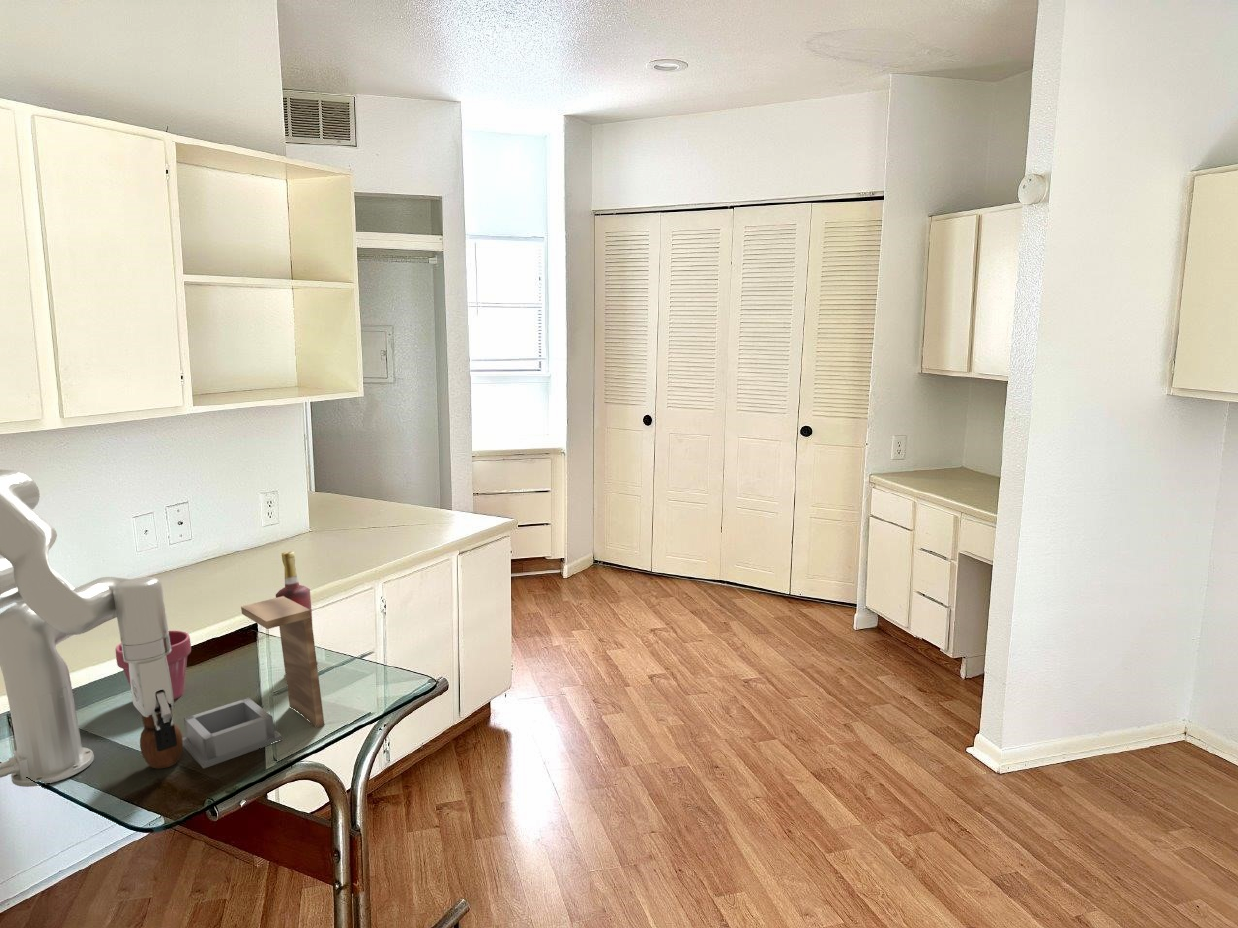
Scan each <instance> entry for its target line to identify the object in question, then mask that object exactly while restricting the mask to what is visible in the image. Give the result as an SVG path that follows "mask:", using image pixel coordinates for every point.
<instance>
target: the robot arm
mask: <svg viewBox="0 0 1238 928" xmlns="http://www.w3.org/2000/svg"><path fill="white" fill-rule="evenodd" d="M40 497H41V496H40V489H39V486H38V485H37V483H36V482H35V480H33V478H31V477H30V476H28V475H27V474H25V473H23V472H21V471H18V470H14V469H13V470H12V469H0V610H1V609H3V608H5V607H7V606H10V605H11V607H8V608H7V609H5V610H3V611H2V612H1V613H0V671H1V674H2V677H3V681H4V687H5V692H6V697H7V700H8V705H9V706H8V707H9V711H10V716H11V717H10V718H11V722H12V723H11V724H12V728H13V735H14V739H15V745H16V750H15V751H14V752H13V753H14V756H12V757H8V760H6V761H3V762H0V779H1V778H5V777H7V776H10V779H11V782H12V784H13V785H15V786H18V787H24V788H25V787H27V788H29V787H37V786H41V785H37V784H36V783H34V782H33V781H35V782H38V781H41V782H44V783H50V784H53V783H57V782H59V781H62V780H65V779H68V778H70V777H73V776H74V775H77V774H78V773H80V772H82V771H83V770H85V769H87V768H88V767H89V766H90V765H91V764H92V763H93V761H94V760H95V756H94V752H93V750H91V749H90V748H88V747H83V745H82V741H81V740H82V738H81V734H80V733H81V732H80V726H79V723H78V722H79V721H78V717H77V711H76V704H75V699H74V694H73V693H74V692H73V686H72V680H71V676H70V670H69V668H68V665H67V663H66V661H65V660H64V658H63V657H62V656H61V655H60V653H59V652H58V649H57V645H59V644H60V643H61V642H63V641H66V640H68V639H69V638H71V637H73V636H76V635H82V634H85V633H87V632H90V631H91V630H94V629H95V628H98V627H99V626H101V625H102V624H105V623H106V622H109V621H111V620H113V619H117V626H118V631H119V632H118V633H119V639H120V643H121V646H122V652H123V659H124V662H126V663H129V674H130V684H131V687H130V690H131V699H132V704H133V707H135V708H136V710H137V711H138V712H139V713H140V714H141V715H143V716H144V717H149V715H152V717H153V721H154V725H155V730H154V736H155V742H156V749H157V751H163V750H166V749H169V748H172V747H174V746H176V745H177V740H176V734H175V727H174V725H175V723H174V719H173V714H172V715H171V711H170V710H172V711H173V709H174V707H175V699H174V698H173V691H172V684H171V679H170V673H169V666H168V663H167V658H166V655H168V654H169V653H171V651H172V650H171V644H170V637H169V631H170V629H169V625H168V618H167V617H168V616H167V611H166V605H165V604H166V603H165V598H164V591H163V585H162V583H161V580H159V579H158V578H156V577H152V576H145V577H144V576H142V577H135V578H124V577H116V576H104V577H98V578H96V579H93V580H92V581H89V582H87V583H85V584H83V585H80V586H77V587H75V586H74V585H73V584H72V583H70V582H69V581H68V580H66V579H65V578H64V577H63V576H62V575H61V574H60V573H59V572H58V571H56V570H55V569H54V568H52V566H51V565H50V561H49V551H50V549H52V547H53V546H54V544H55V543H56V541H57V536H58V534H57V531H56V529H55V528H54V527H53V526H52V525H50V524H49V523H48V522H47V521H46V520H45V519H44V518H42V517H41V516H40V515H39V514H38V513H36V511H34V509H35V508H36V507H37V506H38V504H39V502H40ZM15 603H16V604H15ZM12 604H14V605H12ZM130 684H129V685H130ZM158 708H160V711H157V712H155V709H158ZM158 715H161V718H159V722H158V718H157V716H158ZM145 727H146V726H145V725H144V724H143V729H144V728H145ZM26 777H28V778H30V779H31V780H33V781H31V780H30V779H28V778H26Z"/></svg>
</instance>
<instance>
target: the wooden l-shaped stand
mask: <svg viewBox="0 0 1238 928" xmlns="http://www.w3.org/2000/svg"><path fill="white" fill-rule="evenodd" d="M240 609H241V610H240V611H241V614H242V615H243V616H244V617H246V618H248V619H249V620H251V621H253V622H254V623H255V624H258V625H260V626H261V627H263V628H265V629H266V630H269V629H273V628H277V627H279V634H280V642H281V643H280V644H281V650H282V658H283V664H284V674H285V680H286V681H285V682H286V689H287V690H286V691H287V696H288V705H289V708H290V707H291V708H293V709H295V710H296V711H298V712H299V713H300V714H302V715H303V716H304V717H305V718H306V719H308V720H309V721H310V722H311V723H312V725H313V726H314V727H315V726H316V727H315V728H317V729H318V728H320V727H323V726H325V720H324V719H325V718H324V712H323V711H324V710H323V702H322V695H321V692H322V691H321V686H320V685H321V684H320V679H319V678H320V677H319V670H318V665H317V662H318V661H317V654H316V645H315V635H314V630H313V628H314V627H313V618H312V619H311V611H310V609H308V608H306V607H304V606H302V605H300V604H298V603H296V602H294V601H292V600H290V599H288V598H286V597H284V596H282V597H278V598H276V597H274V598H269V599H265V600H262V601H257V602H254V603H251V604H250V603H249V604H247V605H242V606H240ZM291 708H290V709H291ZM293 709H292V710H293ZM305 718H304V719H305ZM306 719H305V720H306ZM309 721H308V722H309ZM310 722H309V723H310ZM311 723H310V724H311Z"/></svg>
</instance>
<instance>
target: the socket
mask: <svg viewBox="0 0 1238 928" xmlns="http://www.w3.org/2000/svg"><path fill="white" fill-rule="evenodd" d="M183 720H184V728H185V735H186V737H182V738H183V746H182V748H184V749H185V750H186V751H187V752H188V753H189V755H191V757H193V759H194V760H195V761H196V763H198V764H199V766H201V768H202V769H208V768H209V767H212V766H215V765H218V764H221V763H223V762H226V761H230V760H231V759H234V758H237V757H240V756H242V755H246V754H248V753H251V752H255V751H257V750H259V748H260V749H263V748H265V747H267V746H266V745H268V746H270V745H269V744H271V743H273V742H275V741H279V740H281V739H282V740H283V738H282V735H281V733H279V732H278V731H277V730H276V729H275V726H274V717H273V716H272V715H271V714H270V713H269V712H267V711H266V710H265V709H264V708H262V707H261V706H260V705H258V704H257V702H255V701H254V700H253V699H251V698H250V697H246V698H243V699H240V700H238V701H233V702H231V703H227V704H225V705H221V706H217V707H216V708H215V707H214V708H212V709H209V710H205V711H202V712H199V713H195V714H193V715H190V716H186V717H184V718H183ZM279 742H280V741H279ZM271 745H272V744H271Z"/></svg>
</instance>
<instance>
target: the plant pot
mask: <svg viewBox="0 0 1238 928" xmlns="http://www.w3.org/2000/svg"><path fill="white" fill-rule="evenodd" d="M169 637H170V644H171V650H172V651H171V653H169V654H168V655H166V658H167V663H168V666H169V673H170V679H171V684H172V691H173V698H174V700H176V699H178V698H180V697H182V695H183V694H184V691H185V682H186V674H187V673H186V672H187V665H188V663H187V662H188V656H189V655H190V654H191V652H192V644H191V637H190V635H189V633H187V632H186V631H181V630H169ZM115 659H116V665H117V667H118V668H120V669H123V673H124V675H125V677H126V679H127V682H128V684H129V687H130V688H131V684H130V674H129V663H126V662H124V659H123V652H122V646H121V642H120V643H119V644H118V645H116V647H115Z"/></svg>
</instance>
